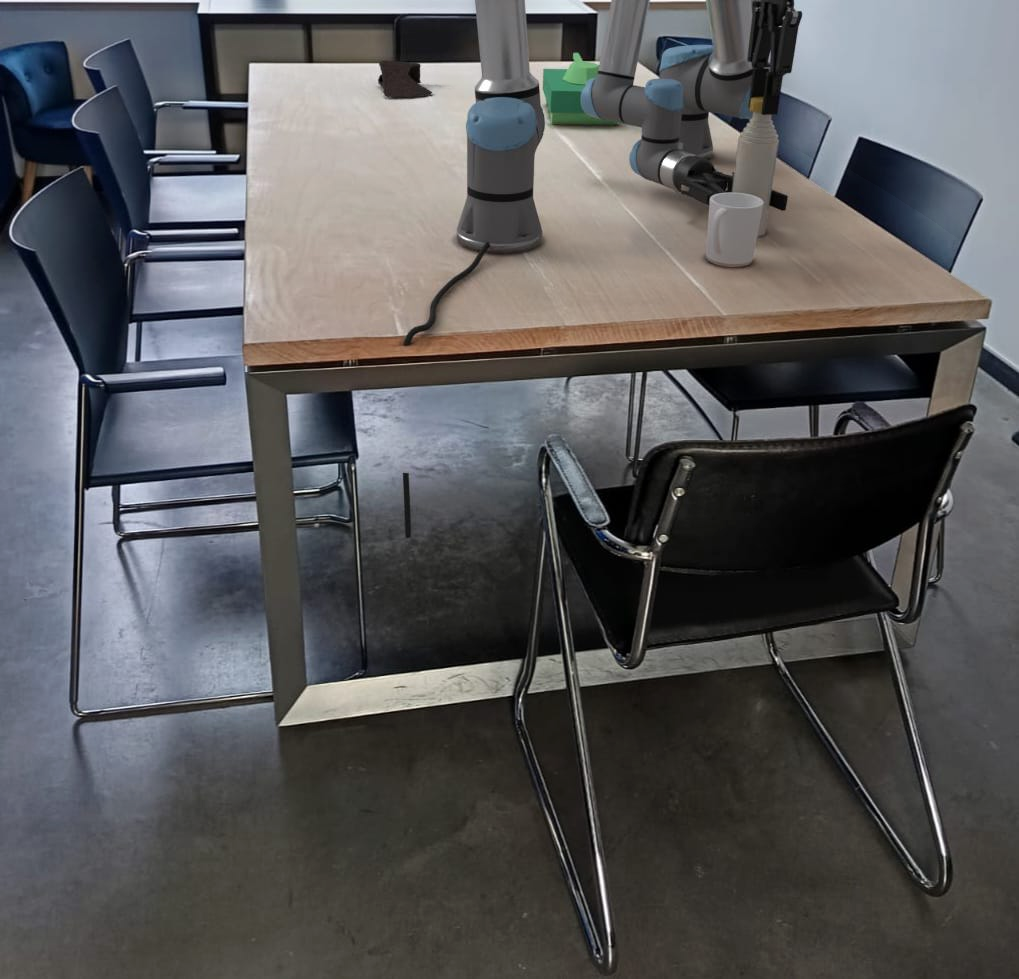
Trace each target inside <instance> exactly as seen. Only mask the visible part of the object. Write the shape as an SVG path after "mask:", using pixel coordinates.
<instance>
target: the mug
mask: <svg viewBox="0 0 1019 979" xmlns="http://www.w3.org/2000/svg"><path fill="white" fill-rule="evenodd" d="M763 204H764V202H763V200H762V199H760V198H759V197H756V196H753V195H749V194H744V193H719V194H715V195H713V196H711V197H710V204H709V206H708V219H707V220H708V221H707V235H706V248H705V249H706V250H705V258H706V260H707V261H708V262H710V263H711V264H714V265H717V266H721V267H728V268H739V267H740V268H742V267H746V266H749V265H751V264H752V263H753V260H754V256H755V250H756V245H757V240H758V237H757V235H758V230H759V225H760V219H761V214H762V209H763Z"/></svg>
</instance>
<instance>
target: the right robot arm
mask: <svg viewBox="0 0 1019 979" xmlns="http://www.w3.org/2000/svg"><path fill="white" fill-rule="evenodd" d="M650 3H651V0H610V6H609V10H608V16H607V22H606V27H605V31H604V32H605V33H604V38H603V43H602V49H601V53H600V54H601V55H600V60H599V64H598V65H599V70H598V74H597V78H592V79H590V80H588V81H587V82H586V84H585V88H584V89H582V92H581V106H582V109H583V111H584V112H585V113H586V114H587V115H589V116H592V117H596V118H599V119H601V120H609V121H614V122H618V124H624V125H629V126H633V127H637V128H641V139H639V140H638V141H636V142H635V143H634V144H633V145H632V148H631V151H630V152H629V155H628V156H629V157H628V162H629V165H630V166H629V167H630V168H631V170H632V171H633V172H634V173H635V174H637V175H638V176H640V177H641V178H643V179H645V180H647V181H650V182H653V183H656V184H658V185H661V186H664V187H665V188H668V189H670V190H673V191H674V193H675V194H679V193H680V194H681V195H684V196H687V197H689V198H691V199H693V200H695V201H698V202H700V203H701V204H703V205H705V206H707V207H709V204H710V197H711V196H713V195H715V194H719V193H732V186H733V178H734V171H733V172H731V174H727V173H724V172H722V171H718V170H717V169H716V168H715V166H714V164H713V163H712V162H711V161H710V160H709V159H711V158H712V157H713V154H714V144H713V140H712V139H713V138H712V133H711V129H710V124H709V115H710V113H712V114H719V115H721V116H728V117H733V118H736V119H740V120H744V119H746V120H750V119H752V116H753V112H752V111H750V108H748V105H749V97H750V90H751V82H752V74H753V68H752V65H751V62H748V61H747V56H748V48H749V39H750V31H751V22H752V1H751V0H705V5H706V12H707V17H708V24H709V30H710V36H711V43H712V44H691V45H680V46H674V47H670V48H667V49H665V50H664V51H663V53H662V55H661V60H660V67H659V70H658V72H659V77H658V78H653V79H649V80H648V81H646V83H645V86H641V85H635V84H634V83H635V79H636V78H635V77H636V72H637V67H638V63H639V62H638V61H639V58H640V53H641V48H642V42H643V37H644V34H645V33H644V32H645V28H646V22H647V17H648V13H649V8H650ZM753 55H754V53H753ZM768 63H769V64H770V62H768ZM766 68H767V69H769V72H770V67H765V68H764V69H766ZM788 198H789V195H787V194H785V193H783V192H780V191H777V190H774V189H772V192H771V199H770V206H769V207H772V208H774V209H777V210H779V211H782V212H784V211H786V210H787V205H788Z"/></svg>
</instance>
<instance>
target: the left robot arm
mask: <svg viewBox="0 0 1019 979" xmlns="http://www.w3.org/2000/svg"><path fill="white" fill-rule="evenodd" d="M474 4H475V15H476V26H477V27H476V28H477V38H478V47H479V58H480V70H481V78H479V80H478V82H477V83H476V84H475V86H474V97H475V103H474V104H472V105H471V106H470V108H469V109H468V111H467V117H466V118H467V119H466V123H465V130H466V192H467V193H466V198H465V202H464V205H463V209H462V211H461V214H460V218H459V220H458V224H457V227H456V241H457V243H458V244H459V245H461V246H462V247H464V248H466V249H468V250H470V251H475V252H478V253H477V255H476V256H475V258H474V260H473V261H472V262H471V264H469V266H468V267H466V268H465V269H464V270H463V271H462V272H460V273H458V274H457V275H455V276H454V277H453V278H451V279H450V280H449V281H448V282H447V283H446V284H444V286H443V287H442V288H440V290H438V293H436V295H435V296H434V297H433V299H432V301H431V303H430V305H429V317H428V320H427V321H426V323H423V324H420V325H416V326H414V327H412V328H411V329H410V330H409V331H408V332H407V334H406V336H405V338H404V340H403V344H402V346H404V347H409V346H410V345H411V342H412V340H413V338H414V337H415V336H416V335H417V334H419V333H422V332H426V331H428V330H430V329H431V328H432V327H433V325H434V324H435V322H436V319H437V318H436V317H437V306H438V304H439V302H440V301H441V299H442V298H443V297H444V295H445V294H446V293H447V292H448V291H450V289H452V287H454V286H455V285H456V284H458V282H459V281H461V280H463V279H464V278H466V277H467V276H469V275H470V274H471V273H472V272H473V271H474V270H475V269H476V268H477V267H478V265H480V264H479V263H480V262H481V260H482V259H483V257H484V256H485V254H497V255H499V254H500V255H506V254H507V255H508V254H517V253H524V252H527V251H530V250H533V249H536V248H538V247H539V246H540V245H541V244H542V243H543V229H542V224H541V221H540V220H541V219H540V218H539V214H538V213H539V212H538V210H537V206H536V204H535V199H534V184H535V181H534V180H535V158H536V152H537V150H538V146H539V145H540V143H541V141H542V139H543V137H544V132H545V129H546V117H545V113H544V109H543V107H542V104H541V90H540V81H539V79H538V78H536V77H535V76H534V75H533V74H532V73H531V68H530V67H531V66H530V54H529V40H528V38H529V37H528V27H527V26H528V25H527V24H528V23H527V13H526V12H527V11H526V0H474ZM751 9H752V22H751V31H750V39H749V48H748V56H747V61H748V62H751V65H752V68H753V74H752V82H751V90H750V97H749V105H748V108H750V101H751V98H753V97H764V98H763V105H762V112H761V114H762V115H771V116H772V115H773V116H774V115H778V112H779V105H780V99H781V93H782V86H783V79H784V76H785V75H788V74H791V73H792V71H793V65H794V58H795V53H796V45H797V39H798V33H799V28H800V24H801V21H802V17H803V11H802V10H796V9H795V0H752V1H751ZM753 53H754V55H753ZM769 63H770V64H769ZM765 67H770V72H769V69H767V68H766V69H764V68H765ZM402 483H403V484H402V486H403V488H402V489H403V508H404V511H403V512H404V536H405V538H406V539H410V538H412V522H411V520H412V519H411V517H412V516H411V496H410V494H411V492H410V473H409V472H402Z"/></svg>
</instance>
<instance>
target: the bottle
mask: <svg viewBox="0 0 1019 979" xmlns="http://www.w3.org/2000/svg"><path fill="white" fill-rule="evenodd" d="M773 123H774V121H773V120H772V115H762V114H761V113H756V112H753V116H752V119H749V122H747V123H746V126H745V127H743V130H741V132H740V134H739V136H738V140H737V148H736V156H735V162H734V170H733V172H734V178H733V186H732V193H744V194H749V195H753V196H756V197H759V198H760V199H762V200H763V202H764V204H763V209H762V214H761V219H760V225H759V230H758V235H757V238H759V237H761V236H764V235H765V234H766V232H767V225H768V219H769V211H770V207H771V206H770V199H771V192H772V190H773V185H774V179H775V178H774V177H775V171H776V164H777V159H778V158H777V157H778V150H779V145H780V144H779V143H780V140H779V134H778V133H777V130H776V129H775V128H776V127H775V125H774V124H773Z"/></svg>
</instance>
